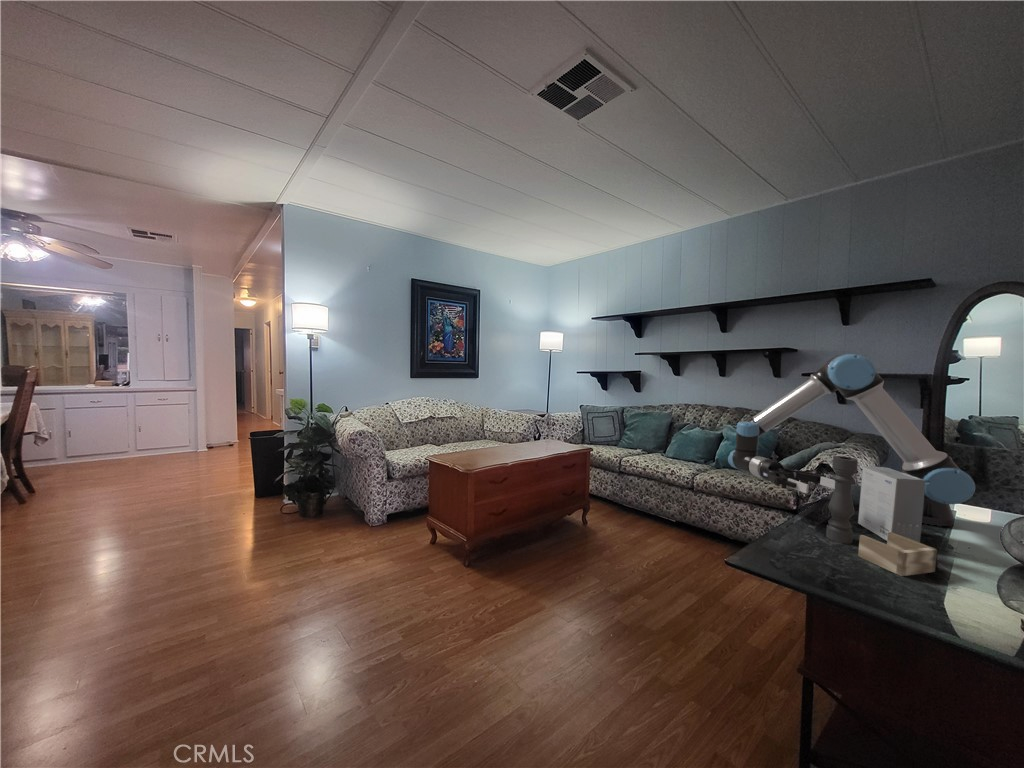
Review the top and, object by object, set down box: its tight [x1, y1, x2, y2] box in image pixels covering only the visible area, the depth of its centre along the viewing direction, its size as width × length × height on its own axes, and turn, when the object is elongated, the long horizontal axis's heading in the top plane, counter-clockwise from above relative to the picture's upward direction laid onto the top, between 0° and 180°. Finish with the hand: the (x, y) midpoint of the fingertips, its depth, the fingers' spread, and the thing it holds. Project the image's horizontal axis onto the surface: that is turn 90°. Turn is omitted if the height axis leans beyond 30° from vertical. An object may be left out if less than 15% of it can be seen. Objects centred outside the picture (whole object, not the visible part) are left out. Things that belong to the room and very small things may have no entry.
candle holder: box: [825, 455, 859, 545], centre depth 118 cm, size 6×6×25 cm
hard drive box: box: [857, 465, 926, 543], centre depth 123 cm, size 16×8×20 cm, turn 168°
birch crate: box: [857, 532, 938, 577], centre depth 105 cm, size 11×10×6 cm
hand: (824, 488), depth 123 cm, fingers open, 13 cm apart
